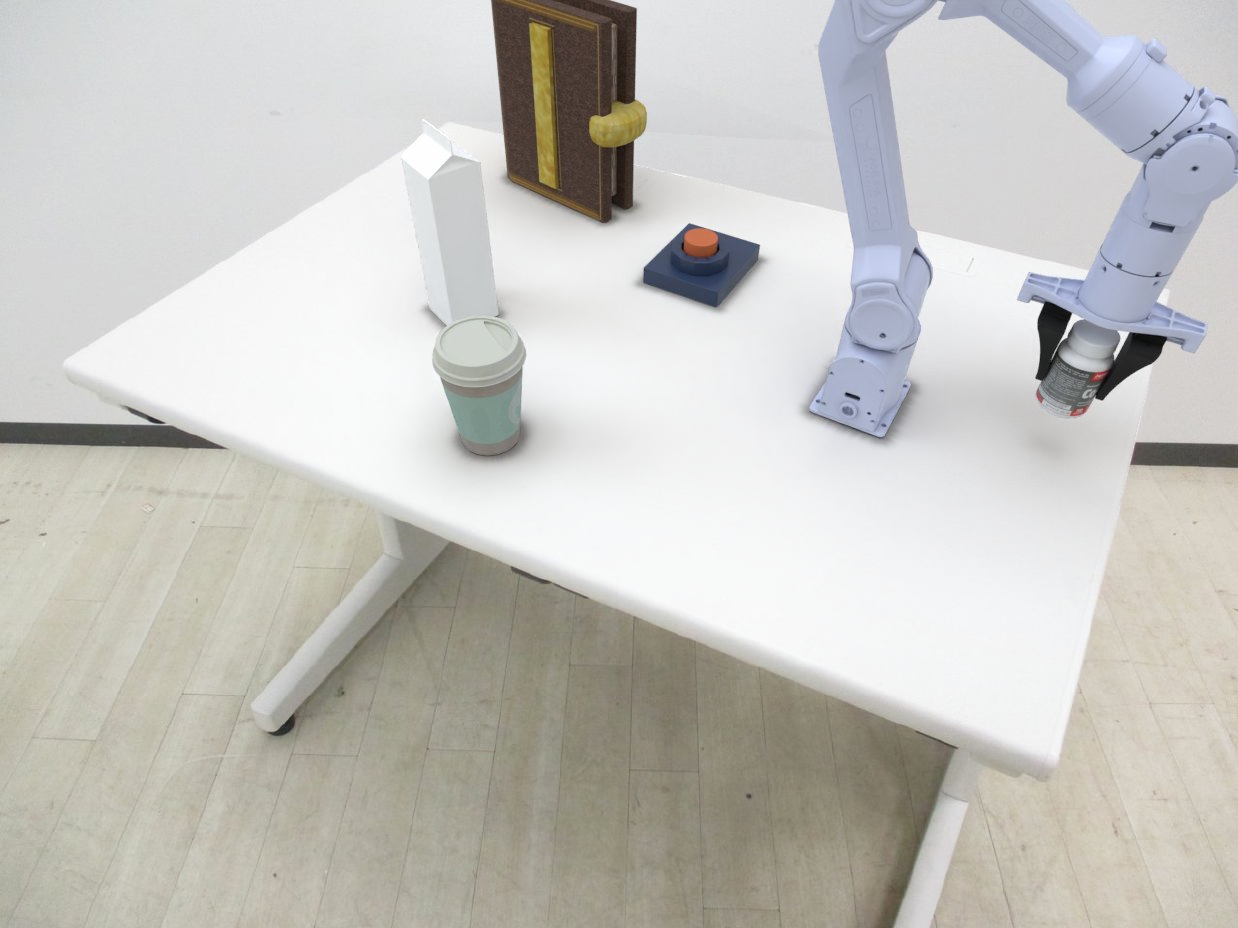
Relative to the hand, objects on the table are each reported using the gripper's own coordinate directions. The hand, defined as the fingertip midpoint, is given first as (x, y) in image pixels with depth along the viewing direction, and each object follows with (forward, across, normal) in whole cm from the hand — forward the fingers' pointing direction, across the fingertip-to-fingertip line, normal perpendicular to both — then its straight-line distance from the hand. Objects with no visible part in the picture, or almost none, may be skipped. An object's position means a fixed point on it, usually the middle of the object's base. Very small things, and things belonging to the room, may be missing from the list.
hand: (1070, 384), depth 79 cm
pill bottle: (+3, 0, 0) cm, 3 cm away
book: (+8, +67, -18) cm, 69 cm away
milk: (+8, +63, +12) cm, 64 cm away
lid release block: (+8, +43, -10) cm, 45 cm away
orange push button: (+5, +43, -9) cm, 44 cm away
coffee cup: (+8, +48, +27) cm, 55 cm away
